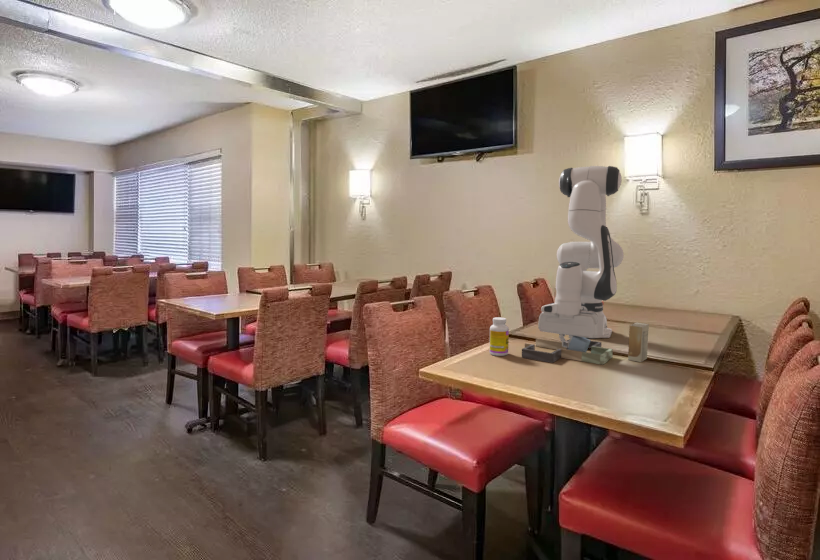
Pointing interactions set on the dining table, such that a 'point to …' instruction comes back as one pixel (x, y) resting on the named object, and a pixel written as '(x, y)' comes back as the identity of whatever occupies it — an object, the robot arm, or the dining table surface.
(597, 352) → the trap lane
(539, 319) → the robot arm
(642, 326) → the skincare box
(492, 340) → the supplement bottle
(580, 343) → the block
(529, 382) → the dining table surface
